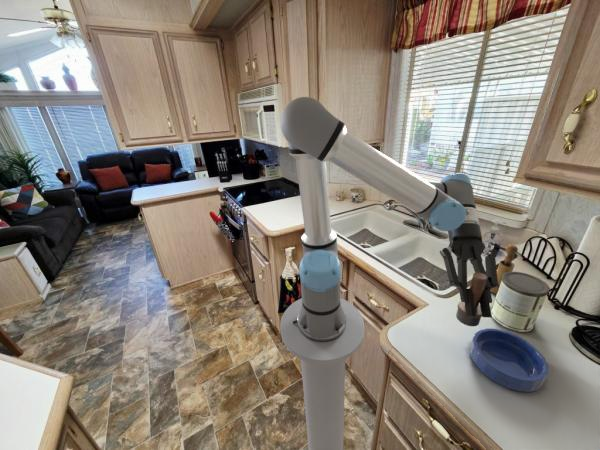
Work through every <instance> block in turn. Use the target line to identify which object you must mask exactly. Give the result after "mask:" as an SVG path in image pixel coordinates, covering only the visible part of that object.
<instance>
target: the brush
mask: <svg viewBox="0 0 600 450" xmlns="http://www.w3.org/2000/svg"><path fill="white" fill-rule="evenodd" d="M486 281H487V276H486V275H485V274H483V273H479V272H475V271H474V272H473V274H472V278H471V281H470V285H469V288H468V289H471V291H472V297H473V303H474V308H475V314H476V316H467V313H466V307H465V302H462V301H461V300H460V301H458V303H457V310H456V313H455V317H456V319H457V320H458V321H459V322H460V323H461V324H463V325H465V326H467V327H477V326H479V325H480V322H481V320H482V318H483V317H482V313H481V307H480V300H481V296H482V293H483V290H484V287H485V284H486Z"/></svg>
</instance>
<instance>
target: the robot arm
mask: <svg viewBox="0 0 600 450" xmlns="http://www.w3.org/2000/svg"><path fill="white" fill-rule="evenodd" d="M346 126H347V125H346V123H344V122H343V121H342V120H340V119H339V118H337V117H336V116H335V115H333V114H332V113H331V112H330V111H328V109H326V107H325V106H324V105H323V103H321V102H320V101H319V100H317V99H316V98H313V97H309V96H300V97H296V98H294V99H293V100H291V101H290V102H288V104H287V105H286V106H285V107H284V109H283V111H282V113H281V117H280V130H281V133H282V135H283V137H284V139H285V140H286V141H287V144H288V151H289V152H288V153H289V155H290V156H291V157H292V158H293V159H295V164H296V172H297V180H298V188H299V195H300V204H301V210H302V218H303V219H302V220H303V226H304V232H303V234H302V235H301V237H300V238H301V247H302V255H303V256H302V258H301V259H300V262H299V268H298V273H299V278H300V291H301V292H300V293H301V298H302V305H301V308H300V311H299V314H298V320H296V321H293V324H295V323H297V322H298V327H299V330H300V332H301V333H302V334H303V335H304V336H305V337H306V338H308V339H310V340H312V341H315V342H330V341H333V340H335V339H337V338H339V337H340V336H341V335H342V334H343V332H344V331H345V328H346V316H345V313H344V311H343V308H342V306H341V304H340V298H341V280H342V279H341V276H342V265H341V262H340V259H339V247H338V238H337V232H335V231H334V230H333V229H332V220H331V209H330V197H329V186H328V185H329V183H328V171H327V162H330V163H332V164H334V165H335V166H337V167H339V168H340V169H342V170H343V171H345V172H347V173H348V174H350V175H352V176H354V177H355V178H357V179H358V180H360V181H362V182H363V183H365V184H366V185H369V186H370V187H372V188H373V189H375V190H377V191H379V193H381V194H383V195H385V196H386V197H389V198H390V199H392V200H393V201H395V202H397V203H399V204H400V205H401V206H402V207H405V208H407V209H408V210H410V211H412V212H413V213H415V214H416V215H417V216H419V217H421V218H423V219H424V220H426V221H428V222H429V224H430V225H431V226H432V227H434V228H435V229H437V231H440V232H447V235H448V239H449V240H448V241H449V243H448V246H447V247H443V248H442V249H440V250H439V254H440V256H441V257H442V258H443V262H444V267H445V270H446V273H447V279H448V282H449V285H450V286H451V287H454V288H456V289H457V290H458V291H459V298H460V301H462V302H465V307H466V313H467V316H476V314H475V308H474V303H473V297H472V291H471V289H469V288H468V261H469V262H470V264H471V265H472V268H473V271H474V273H475V272H479V273H483V274H485V275H486V276H487V281H486V284H485V287H484V290H483V293H482V296H481V300H480V303H479V305H480V307H481V313H482V317H481V318H493V317H492V315H491V310H492V308H491V305H490V304H493V298H492V292H491V291H490V290H491V289H492V288H494V287H497V286H498V278H497V269H498V268H497V262H496V261H497V260H496V257H497V254H498V250H497V249H496V248H492V249H491V248H489V247H487V246H486V244H485V243H484V242H483V235H482V230H481V225H479V224H480V220H479V216H478V215H479V214H478V211H477V206H476V201H475V200H476V199H475V195H474V188H473V187H474V186H473V185H472V182H471V179H470V177H469V175H468V174H466V173H463V172H455V173H450V174H448V175H445V176H444V177H442V178H441V179H440V181H427V180H425V179H423V178H422V177H421V176H420V175H417V174H415V173H414V172H412V170H409V169H408V168H406V167H404V166H403V165H402V164H400V163H398V162H397V161H395V160H394V159H393V158H390V157H389V156H388V155H385V154H384V153H383V152H381V151H380V150H378V149H376V148H375V147H373V146H372V145H370V144H369V143H367V142H366V141H364V140H362V139H361V138H359V137H357V136H356V135H354V134H353V133H351V132H350V131H348V130H347V127H346ZM452 254H453V255H454V256H455V257H456V264H457V269H456V266H455V261H454V259H453V255H452ZM482 254H483V257H484V263H483V257H482ZM484 266H485V267H484Z"/></svg>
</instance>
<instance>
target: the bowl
mask: <svg viewBox="0 0 600 450" xmlns="http://www.w3.org/2000/svg"><path fill="white" fill-rule="evenodd" d="M470 343H471V344H470V347H469V354H470V358H471V359H472V361H473V363H474V364H475V366H476V367H477V368H478V369H479V371H480V372H482V374H484V375H485V376H487V377H488V378H489V379H490V380H491V381H493V382H495V383H497V384H499V385H500V386H502V387H505V388H507V389H510V390H514V391H516V392H523V393H524V392H525V393H531V392H534V391H538V390H539V389H540V388H541V387H542V386H543V384H544V383H545V381H546V379H547V377H548V375H549V364H548V362H547V360H546V358H545V357H544V355H543V354H542V353H541V352H540V351H539V350H538V349H537V348H536V347H535V346H533V345H532V344H531V343H530V342H528V341H527V340H525V339H523V338H522V337H520V336H519V335H516V334H515V333H511V332H509V331H506V330H502V329H498V328H483V329H479V330H478V331H476V332H475V333H474V335H473V337H472V340H471V342H470Z"/></svg>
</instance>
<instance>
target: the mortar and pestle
mask: <svg viewBox="0 0 600 450" xmlns="http://www.w3.org/2000/svg"><path fill="white" fill-rule="evenodd" d="M518 251H519V249H518V247H517V246H516V245H515V244H508V245H507V246H506V247H505V253H506V255H505V256H504V260H500V261H499V263H498V267H497V268H496V269H497V278H498V286H497V287H494V288H492V289H491V290H490V292H491V293H493V294H495V295H497V293H498V289H499V286H500V283H501V280H502V276H503V274H504V273H506V272H514V271H513V270H514V268H515V263H513V261H514V255H516V254H517V253H518Z"/></svg>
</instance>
